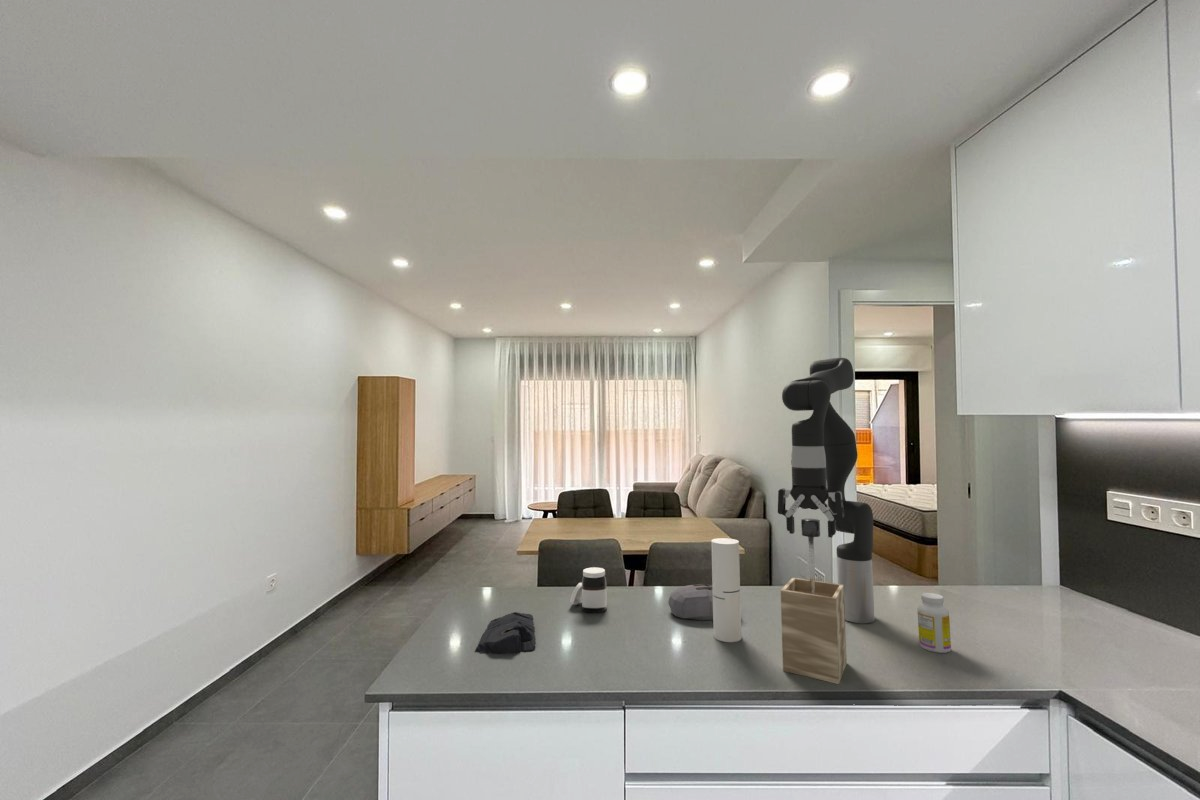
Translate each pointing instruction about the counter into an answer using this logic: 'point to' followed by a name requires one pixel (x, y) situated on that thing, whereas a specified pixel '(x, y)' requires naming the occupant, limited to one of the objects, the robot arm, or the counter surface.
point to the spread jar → (591, 590)
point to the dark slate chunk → (508, 635)
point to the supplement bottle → (933, 624)
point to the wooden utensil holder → (813, 629)
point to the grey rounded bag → (692, 602)
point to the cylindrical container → (726, 589)
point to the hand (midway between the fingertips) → (810, 535)
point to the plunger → (811, 546)
